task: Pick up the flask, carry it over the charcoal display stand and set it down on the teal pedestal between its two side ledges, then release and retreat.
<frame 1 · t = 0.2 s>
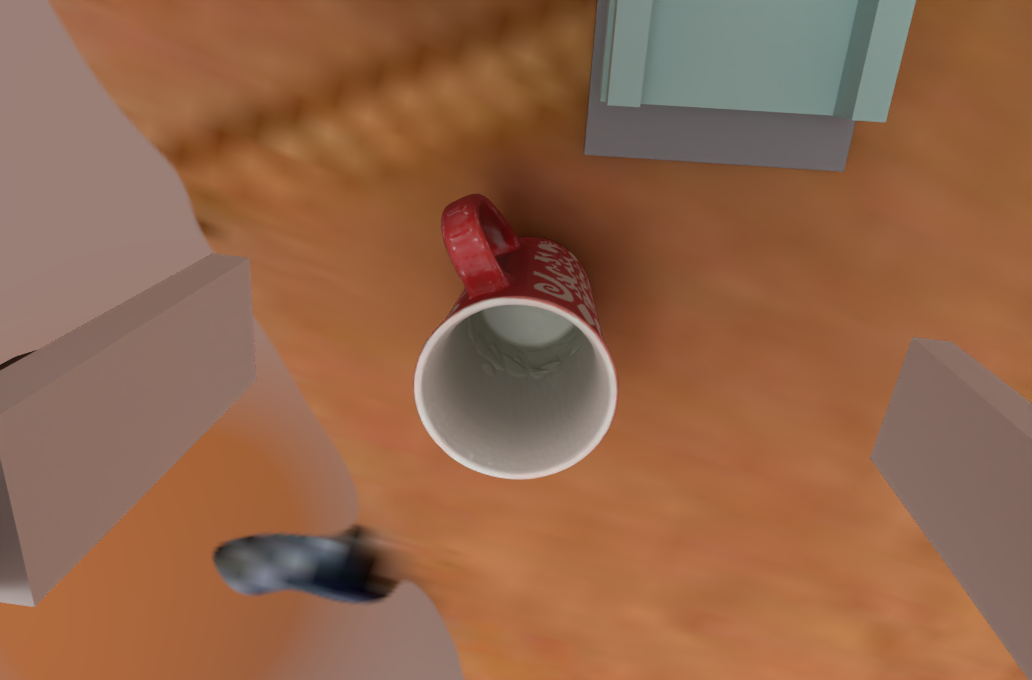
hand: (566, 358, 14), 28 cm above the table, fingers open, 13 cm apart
display stand: (731, 22, 36), on the table
mug: (524, 266, 42), on the table
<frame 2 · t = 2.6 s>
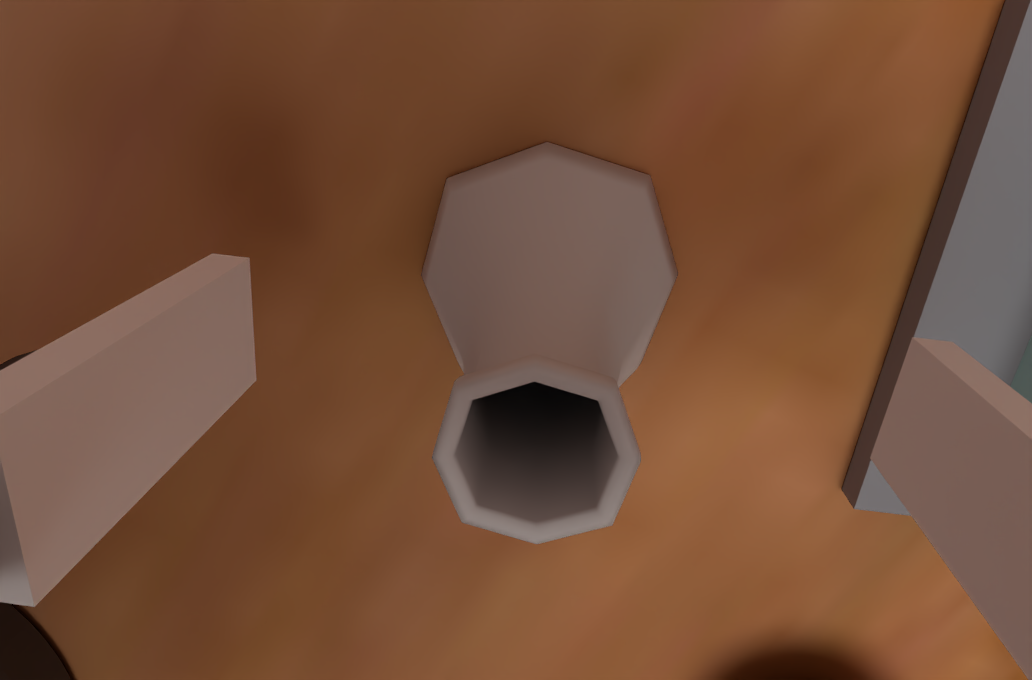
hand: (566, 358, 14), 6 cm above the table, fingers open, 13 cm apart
flask: (548, 269, 20), on the table
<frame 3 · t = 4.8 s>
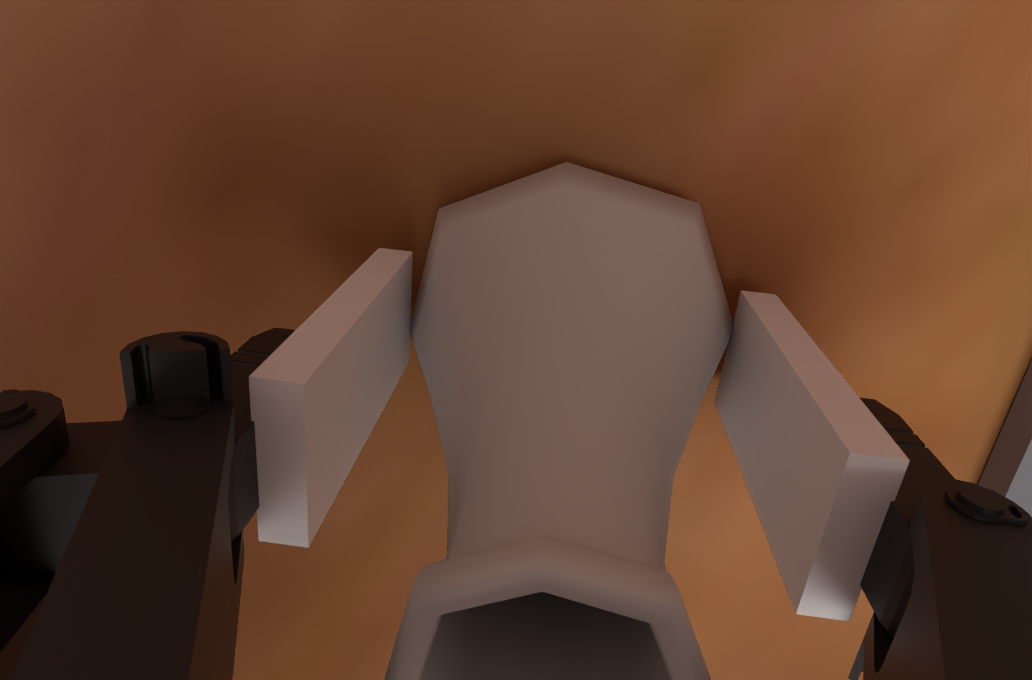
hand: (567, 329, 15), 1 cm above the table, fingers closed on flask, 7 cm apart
flask: (568, 319, 16), point 1 cm above the table, touching gripper
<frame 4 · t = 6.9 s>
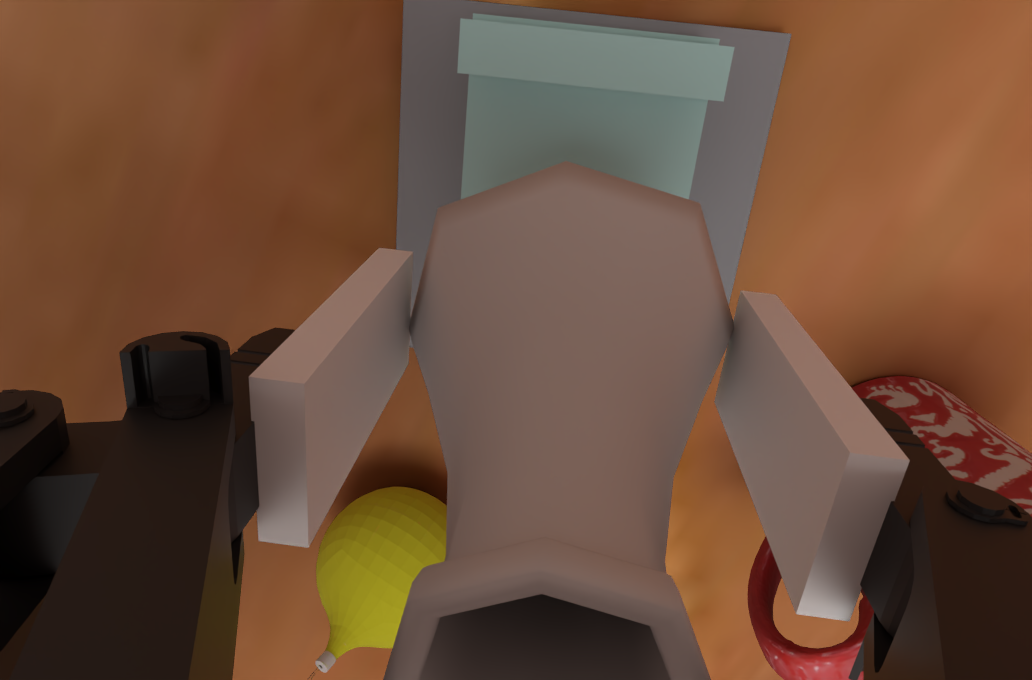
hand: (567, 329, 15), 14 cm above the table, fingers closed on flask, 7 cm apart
ornament: (412, 515, 36), on the table
display stand: (570, 201, 29), on the table
mug: (843, 448, 32), on the table
flask: (568, 319, 16), point 14 cm above the table, touching gripper
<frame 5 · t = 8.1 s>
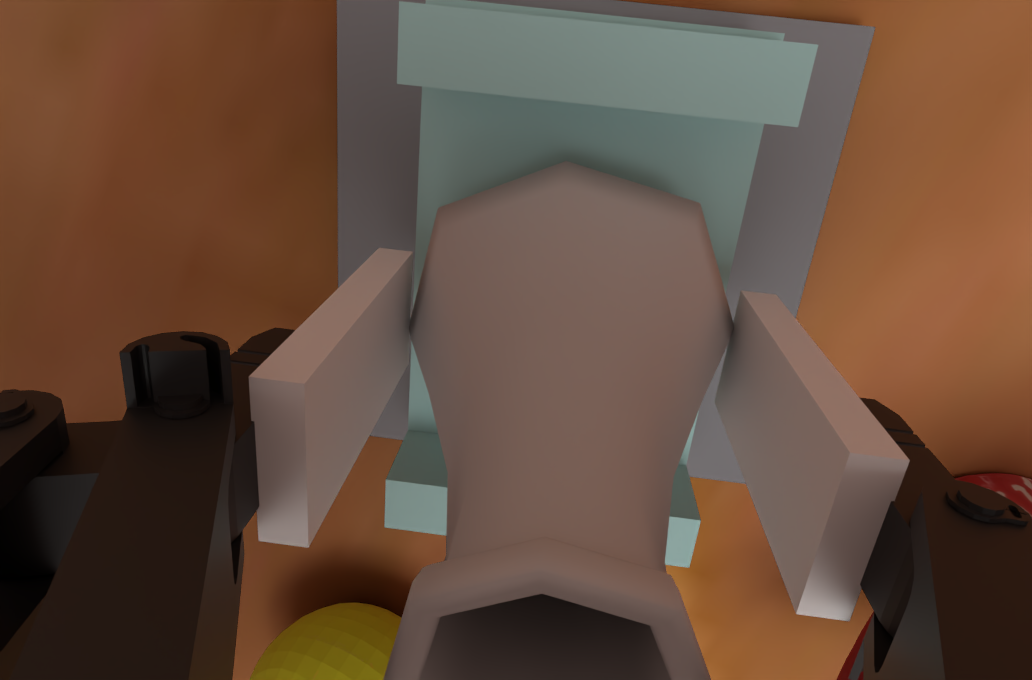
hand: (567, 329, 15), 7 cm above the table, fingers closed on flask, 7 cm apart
ornament: (372, 628, 29), on the table
display stand: (568, 249, 22), on the table
mug: (916, 558, 25), on the table
flask: (568, 319, 16), point 6 cm above the table, touching gripper
when the fingers open (6 cm above the table, at t = 9.0 s): flask drops 2 cm, resting on display stand.
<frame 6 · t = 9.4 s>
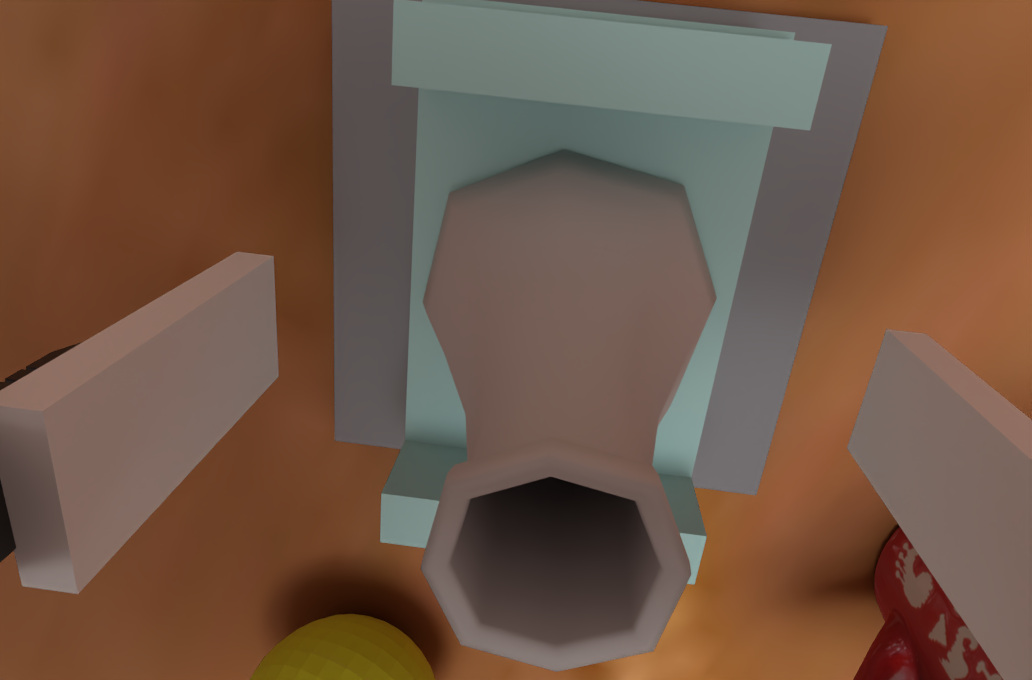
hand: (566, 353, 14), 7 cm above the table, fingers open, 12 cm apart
ornament: (370, 639, 28), on the table
display stand: (570, 255, 21), on the table
mug: (926, 570, 25), on the table
flask: (567, 293, 18), point 4 cm above the table, touching display stand
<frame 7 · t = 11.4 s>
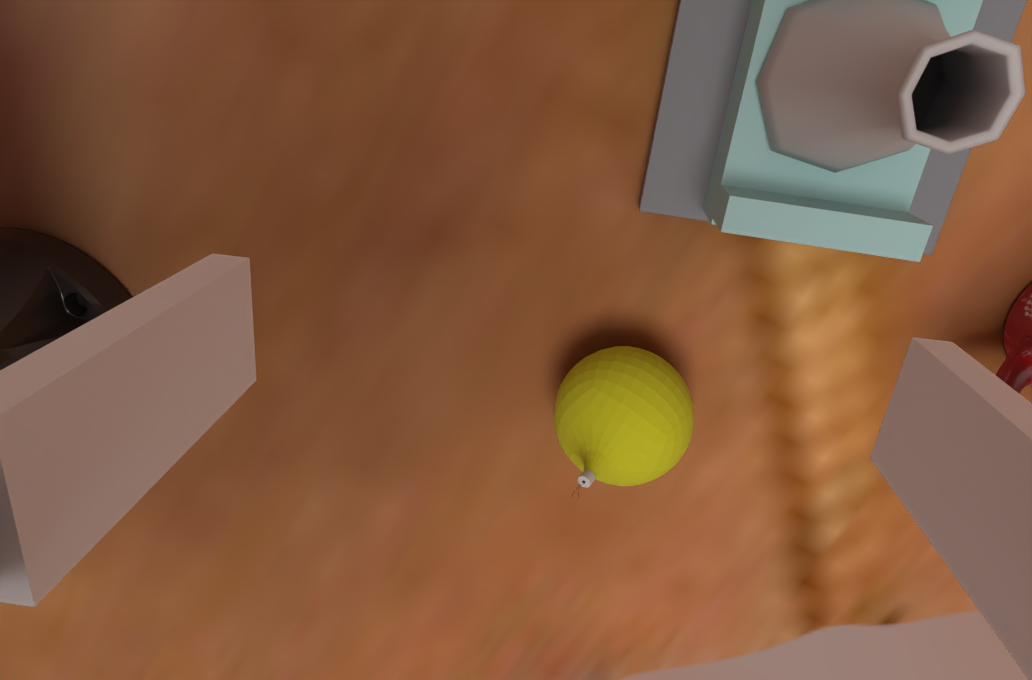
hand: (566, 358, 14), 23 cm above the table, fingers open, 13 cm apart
ornament: (621, 383, 39), on the table
display stand: (820, 78, 32), on the table
flask: (845, 80, 28), point 4 cm above the table, touching display stand
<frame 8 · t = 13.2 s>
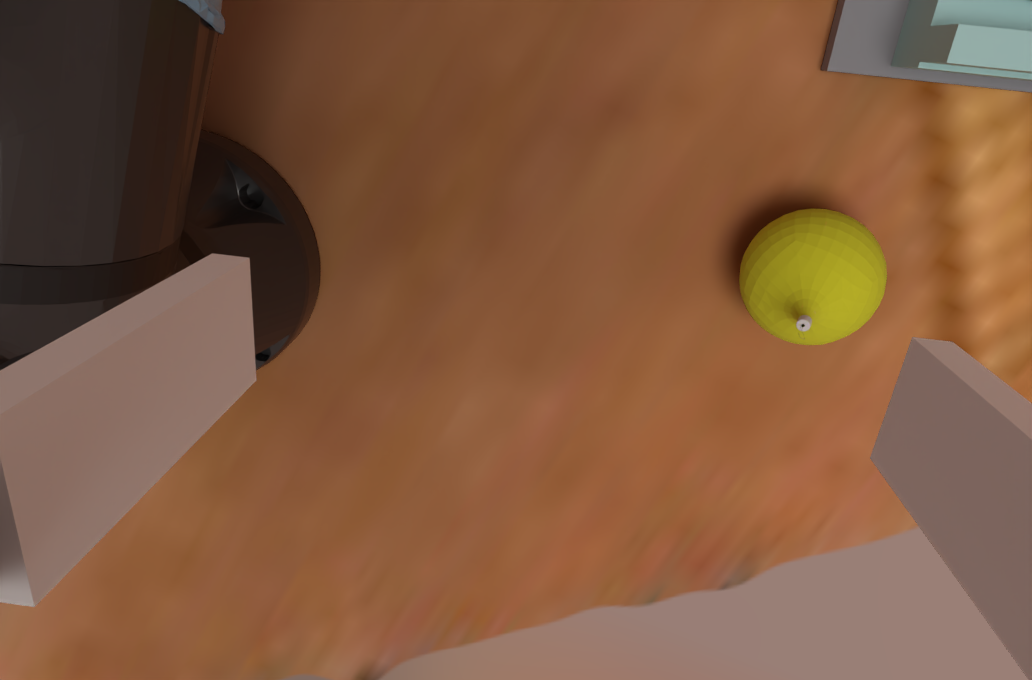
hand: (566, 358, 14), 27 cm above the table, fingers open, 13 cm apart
ornament: (790, 257, 40), on the table
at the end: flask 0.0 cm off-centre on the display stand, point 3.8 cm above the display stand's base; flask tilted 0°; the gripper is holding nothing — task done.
